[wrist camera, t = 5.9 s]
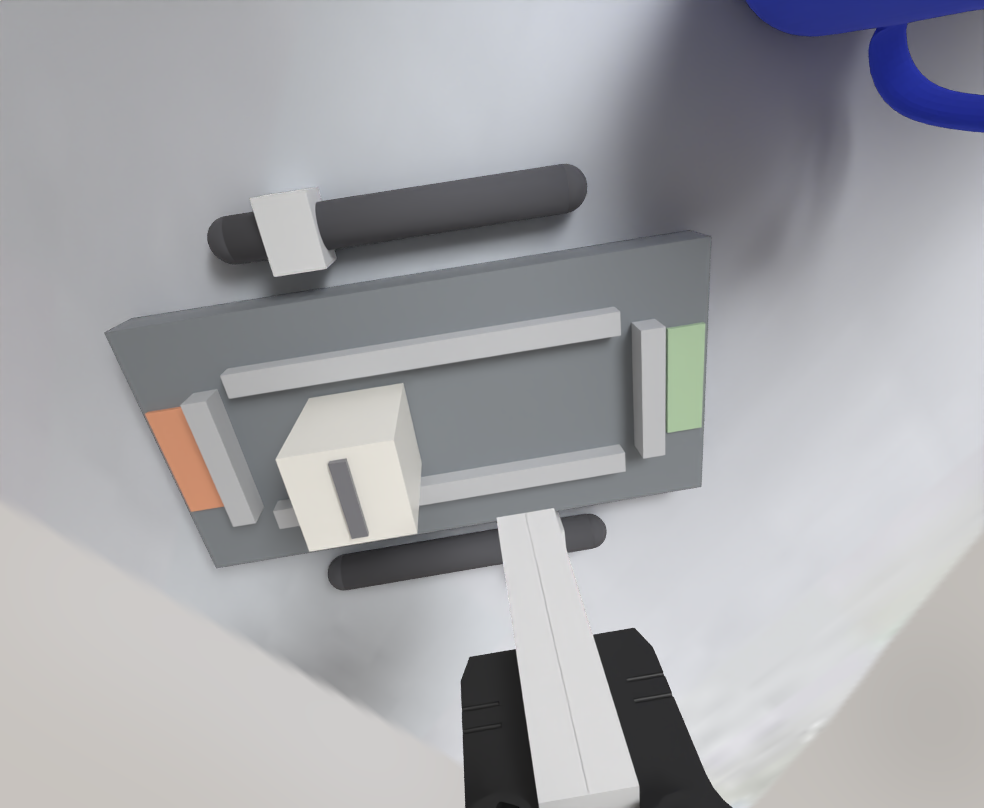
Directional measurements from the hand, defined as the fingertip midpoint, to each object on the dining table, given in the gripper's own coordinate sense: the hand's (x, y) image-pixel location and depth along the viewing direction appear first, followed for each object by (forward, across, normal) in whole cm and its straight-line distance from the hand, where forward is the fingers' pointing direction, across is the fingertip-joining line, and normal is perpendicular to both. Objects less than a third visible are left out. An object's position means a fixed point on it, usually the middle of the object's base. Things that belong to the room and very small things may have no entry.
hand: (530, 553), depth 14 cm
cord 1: (+12, -3, +8) cm, 15 cm away
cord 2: (+12, -3, -9) cm, 15 cm away
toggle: (+10, -6, -1) cm, 12 cm away
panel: (+12, -3, -1) cm, 12 cm away
